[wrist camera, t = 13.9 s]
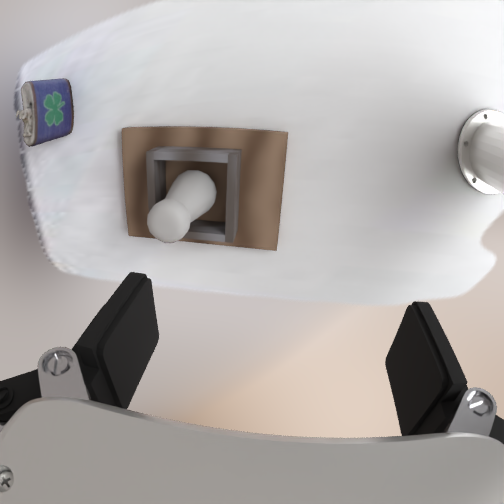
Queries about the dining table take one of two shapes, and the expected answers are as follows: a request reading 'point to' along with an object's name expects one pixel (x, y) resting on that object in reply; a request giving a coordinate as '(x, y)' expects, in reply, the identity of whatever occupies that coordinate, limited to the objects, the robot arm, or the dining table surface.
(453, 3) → the dining table surface
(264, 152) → the holder board
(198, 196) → the salt shaker
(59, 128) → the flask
